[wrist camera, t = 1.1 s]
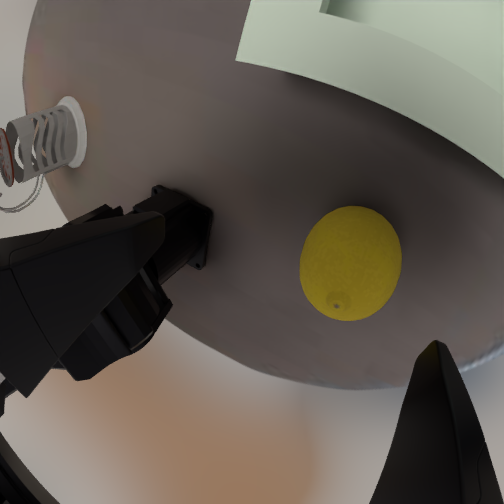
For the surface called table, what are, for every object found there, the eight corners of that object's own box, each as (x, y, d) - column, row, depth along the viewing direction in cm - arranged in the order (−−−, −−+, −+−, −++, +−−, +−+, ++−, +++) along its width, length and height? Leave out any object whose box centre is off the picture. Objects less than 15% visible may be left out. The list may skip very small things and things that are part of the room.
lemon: (416, 214, 15) (425, 291, 9) (377, 277, 19) (358, 365, 13) (339, 174, 16) (301, 225, 10) (310, 242, 20) (263, 315, 14)
